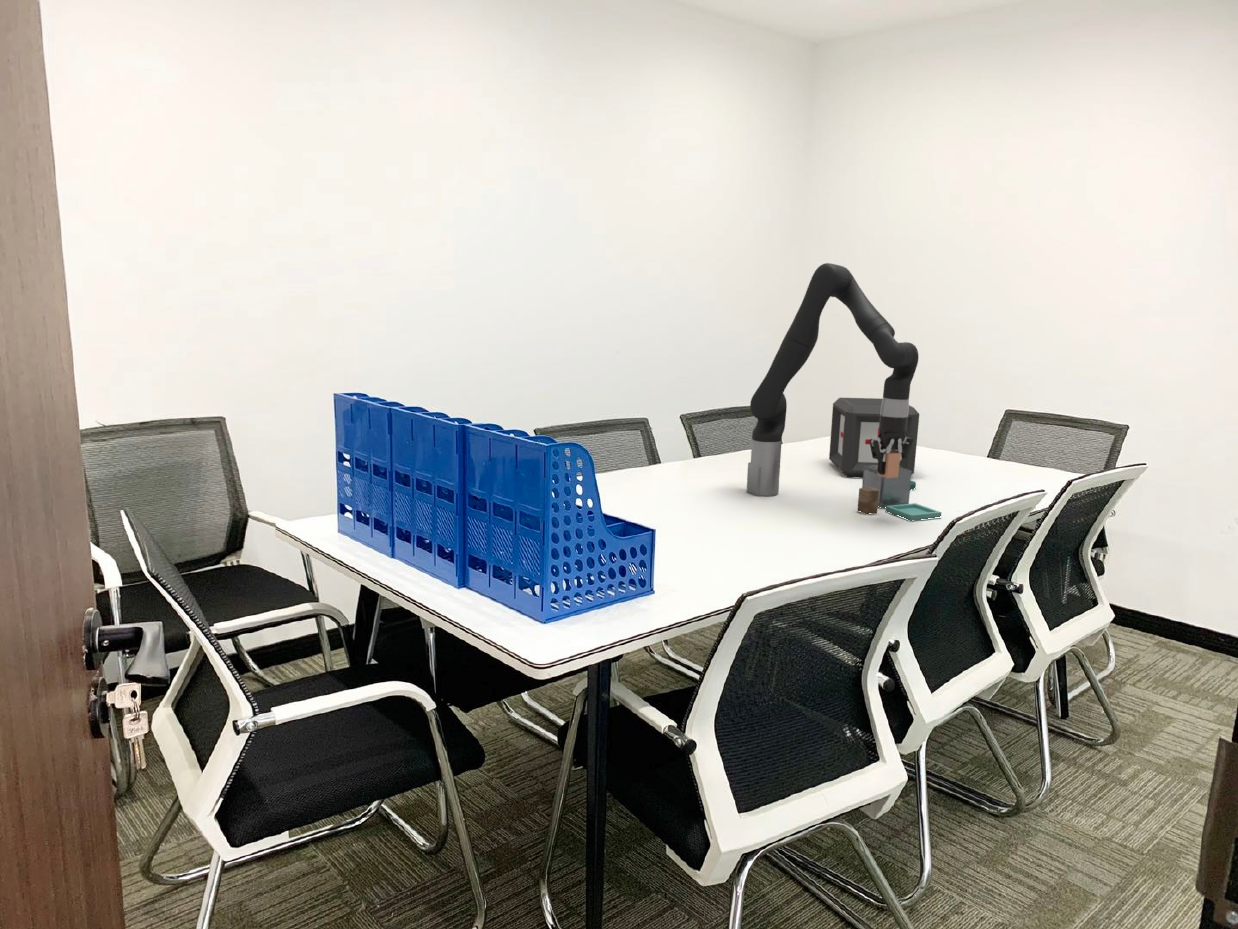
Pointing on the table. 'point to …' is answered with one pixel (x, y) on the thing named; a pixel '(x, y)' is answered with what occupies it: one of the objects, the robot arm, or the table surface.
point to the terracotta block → (892, 465)
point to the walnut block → (868, 500)
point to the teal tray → (913, 511)
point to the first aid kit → (863, 435)
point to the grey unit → (888, 486)
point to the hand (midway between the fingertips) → (887, 473)
